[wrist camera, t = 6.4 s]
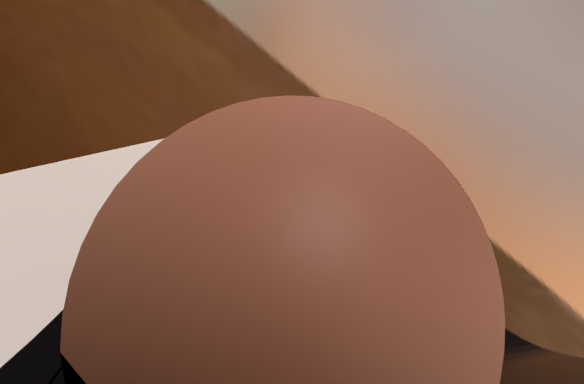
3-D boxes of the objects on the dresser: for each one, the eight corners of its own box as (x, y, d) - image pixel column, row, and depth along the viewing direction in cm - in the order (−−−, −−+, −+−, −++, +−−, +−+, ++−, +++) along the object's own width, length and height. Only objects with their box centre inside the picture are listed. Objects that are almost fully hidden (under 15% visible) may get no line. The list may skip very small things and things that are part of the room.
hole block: (308, 350, 22) (327, 373, 18) (53, 466, 17) (5, 528, 13) (242, 141, 23) (246, 120, 19) (-6, 200, 19) (-64, 188, 15)
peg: (288, 257, 15) (566, 294, 3) (236, 312, 14) (326, 719, 2) (239, 206, 15) (312, 23, 3) (183, 258, 14) (-78, 323, 2)
